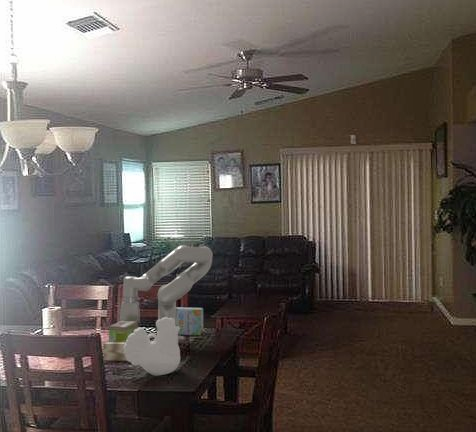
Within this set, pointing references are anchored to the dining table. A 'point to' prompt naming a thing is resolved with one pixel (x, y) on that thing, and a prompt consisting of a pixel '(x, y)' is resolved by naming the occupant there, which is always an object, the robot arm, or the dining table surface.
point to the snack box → (189, 320)
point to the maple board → (114, 351)
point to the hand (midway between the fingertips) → (129, 333)
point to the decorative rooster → (155, 348)
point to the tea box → (121, 330)
